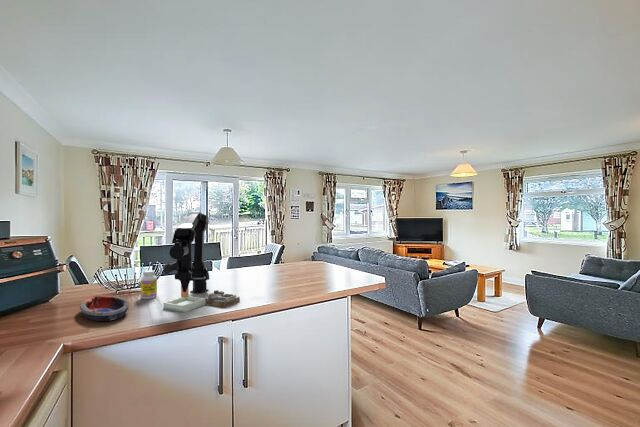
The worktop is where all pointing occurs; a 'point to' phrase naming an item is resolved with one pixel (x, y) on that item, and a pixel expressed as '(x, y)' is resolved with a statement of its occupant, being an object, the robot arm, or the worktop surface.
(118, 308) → the dish
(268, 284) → the worktop surface
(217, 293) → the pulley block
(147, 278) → the supplement bottle
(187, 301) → the tray
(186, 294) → the pin
